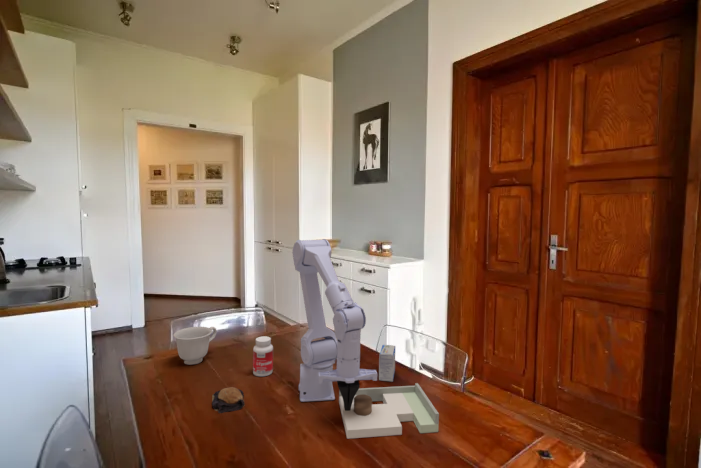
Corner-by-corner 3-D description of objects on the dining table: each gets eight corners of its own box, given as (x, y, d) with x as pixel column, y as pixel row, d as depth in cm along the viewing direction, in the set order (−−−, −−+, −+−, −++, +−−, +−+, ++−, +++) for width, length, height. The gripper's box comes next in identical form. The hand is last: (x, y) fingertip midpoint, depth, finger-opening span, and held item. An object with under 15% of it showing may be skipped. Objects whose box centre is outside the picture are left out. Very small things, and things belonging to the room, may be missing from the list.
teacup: (226, 356, 125) (226, 328, 124) (187, 372, 112) (187, 341, 112) (205, 348, 131) (205, 322, 131) (166, 362, 119) (165, 333, 118)
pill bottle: (254, 378, 109) (254, 343, 109) (251, 370, 115) (251, 336, 114) (274, 375, 112) (274, 340, 111) (271, 367, 117) (271, 334, 117)
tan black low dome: (210, 397, 99) (210, 384, 99) (241, 391, 103) (241, 378, 103) (213, 417, 90) (213, 403, 89) (247, 410, 93) (247, 396, 93)
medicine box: (392, 382, 109) (393, 354, 108) (378, 380, 110) (379, 353, 109) (394, 371, 117) (395, 345, 116) (381, 369, 118) (382, 344, 117)
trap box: (347, 438, 82) (347, 419, 81) (338, 401, 97) (339, 385, 97) (438, 431, 85) (439, 413, 85) (416, 397, 100) (417, 382, 100)
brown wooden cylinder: (355, 416, 87) (355, 404, 87) (352, 406, 92) (352, 394, 91) (373, 415, 88) (373, 403, 88) (369, 405, 92) (369, 394, 92)
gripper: (320, 363, 83) (319, 419, 84) (380, 361, 85) (379, 415, 86) (318, 351, 90) (317, 403, 91) (374, 349, 92) (373, 400, 93)
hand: (347, 408), depth 89 cm, fingers closed
